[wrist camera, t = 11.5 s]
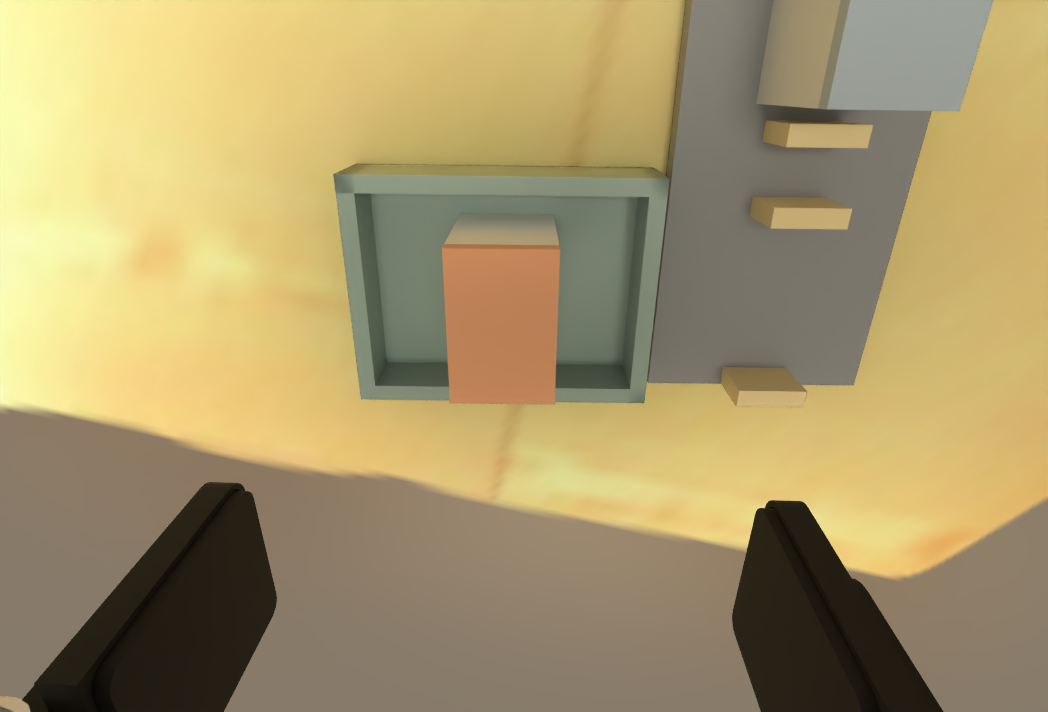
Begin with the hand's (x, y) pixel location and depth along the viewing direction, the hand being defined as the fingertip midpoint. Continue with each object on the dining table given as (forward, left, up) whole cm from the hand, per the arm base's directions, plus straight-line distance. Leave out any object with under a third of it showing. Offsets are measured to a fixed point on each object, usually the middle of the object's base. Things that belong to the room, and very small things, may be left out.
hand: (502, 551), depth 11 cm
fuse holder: (-11, -5, -18) cm, 22 cm away
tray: (+1, 0, -18) cm, 18 cm away
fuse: (0, 0, -17) cm, 17 cm away
